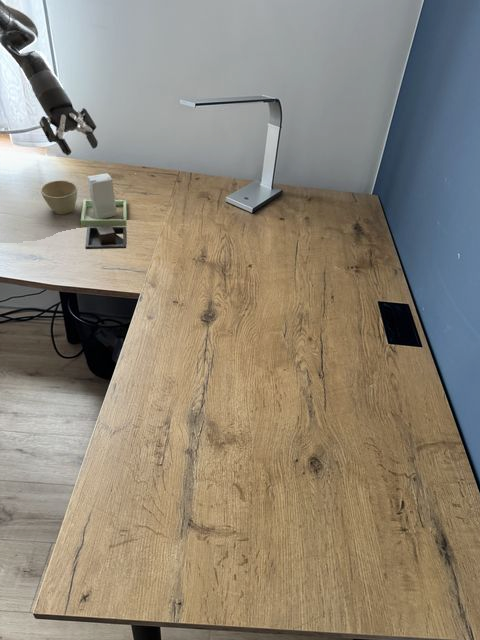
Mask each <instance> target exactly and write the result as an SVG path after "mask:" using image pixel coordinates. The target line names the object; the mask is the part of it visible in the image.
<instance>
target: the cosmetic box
mask: <svg viewBox="0 0 480 640" xmlns="http://www.w3.org/2000/svg"><path fill="white" fill-rule="evenodd" d="M87 182H88V188H89V194H90V200H91V201H92V206H91V207H92V213H93V214H94V216H95V218H96V219H109V218H111V217H116V216H118V214H117V206H116V205H115V200H116V199H115V190H114V189H115V188H114V181H113V179H112V177H111V176H110V175H109V174H108V173H107V172H106V173H102V174H101V173H100V174H96V175H95V174H94V175H89V176H87Z"/></svg>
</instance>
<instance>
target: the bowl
mask: <svg viewBox="0 0 480 640" xmlns="http://www.w3.org/2000/svg"><path fill="white" fill-rule="evenodd" d="M40 193H41V195H42V198H43V199H44V202H45V203H46V204H47V206H49V209H51V210H52V211H53V212H54V213H55V214H57V215H68V214H70V213H72V212H73V210H74V208H75V206H76V203H77V198H78V186H77V185H76V184H75V183H74V182H72V181H69V180H53V181H49V182H46V183H44V184H43V185H42V186H41V188H40ZM67 213H68V214H67Z"/></svg>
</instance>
